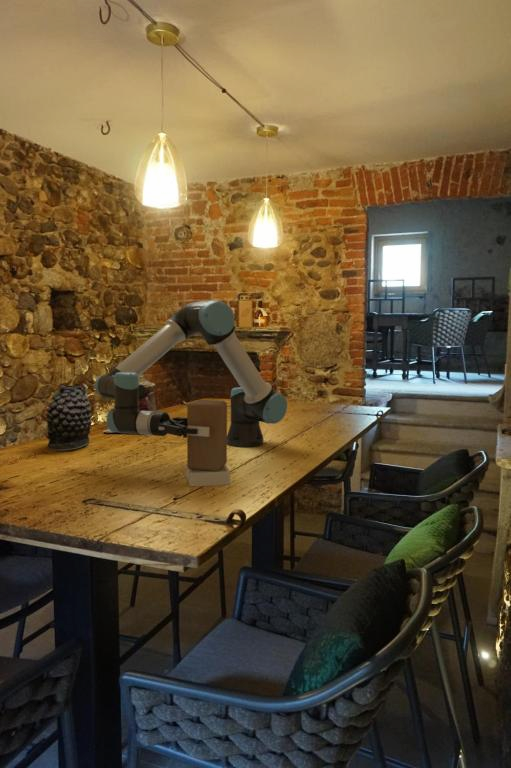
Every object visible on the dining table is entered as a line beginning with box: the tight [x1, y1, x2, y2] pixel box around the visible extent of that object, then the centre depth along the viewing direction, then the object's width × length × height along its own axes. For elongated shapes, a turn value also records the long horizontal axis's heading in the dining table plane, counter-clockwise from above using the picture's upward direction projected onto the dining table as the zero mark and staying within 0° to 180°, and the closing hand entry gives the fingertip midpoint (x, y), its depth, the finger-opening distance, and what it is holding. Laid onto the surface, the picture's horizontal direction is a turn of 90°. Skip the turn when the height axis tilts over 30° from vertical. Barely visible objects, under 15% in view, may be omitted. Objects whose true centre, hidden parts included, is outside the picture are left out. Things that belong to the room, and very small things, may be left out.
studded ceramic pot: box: [44, 382, 93, 452], centre depth 211 cm, size 21×15×25 cm
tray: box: [185, 463, 231, 487], centre depth 169 cm, size 12×12×4 cm
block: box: [186, 399, 228, 471], centre depth 168 cm, size 10×10×20 cm
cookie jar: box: [102, 371, 158, 434], centre depth 249 cm, size 25×25×32 cm
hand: (217, 427), depth 166 cm, fingers open, 13 cm apart
